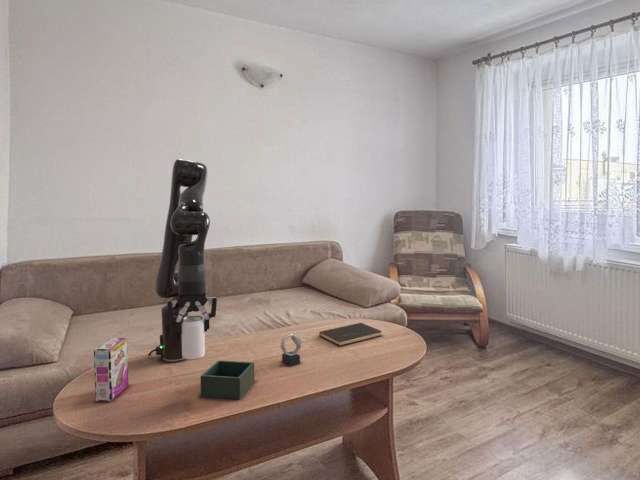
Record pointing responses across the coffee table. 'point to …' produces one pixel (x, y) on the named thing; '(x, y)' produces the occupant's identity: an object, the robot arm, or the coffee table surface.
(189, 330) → the can
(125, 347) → the candy bar box
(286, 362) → the watch
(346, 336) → the hardcover book
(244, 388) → the bin
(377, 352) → the coffee table surface
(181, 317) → the robot arm
